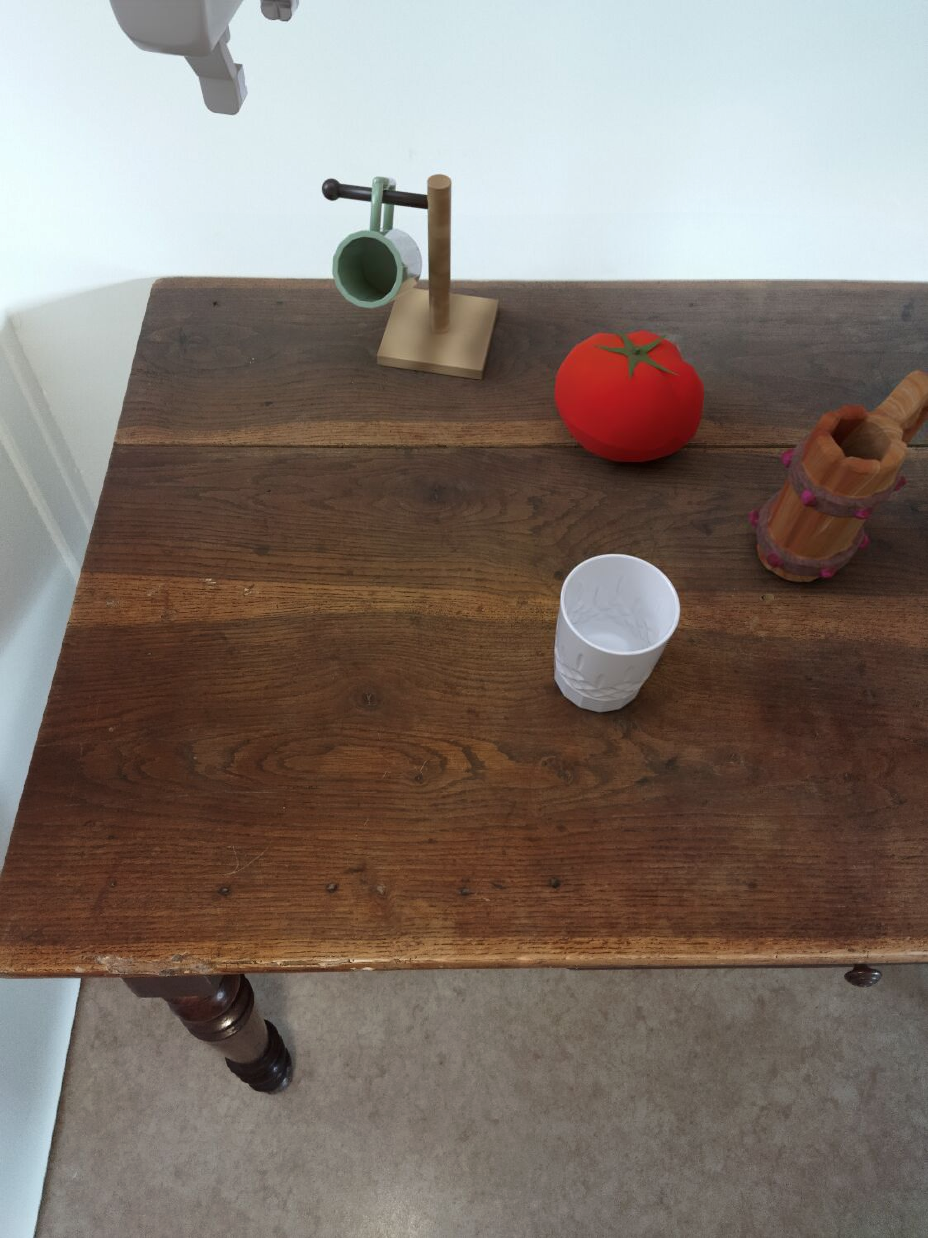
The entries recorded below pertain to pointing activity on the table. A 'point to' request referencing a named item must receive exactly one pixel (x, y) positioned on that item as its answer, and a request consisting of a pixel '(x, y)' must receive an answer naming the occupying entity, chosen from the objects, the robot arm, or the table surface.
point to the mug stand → (431, 296)
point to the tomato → (629, 396)
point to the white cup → (612, 629)
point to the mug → (838, 484)
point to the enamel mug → (377, 257)
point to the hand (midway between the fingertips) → (256, 58)
